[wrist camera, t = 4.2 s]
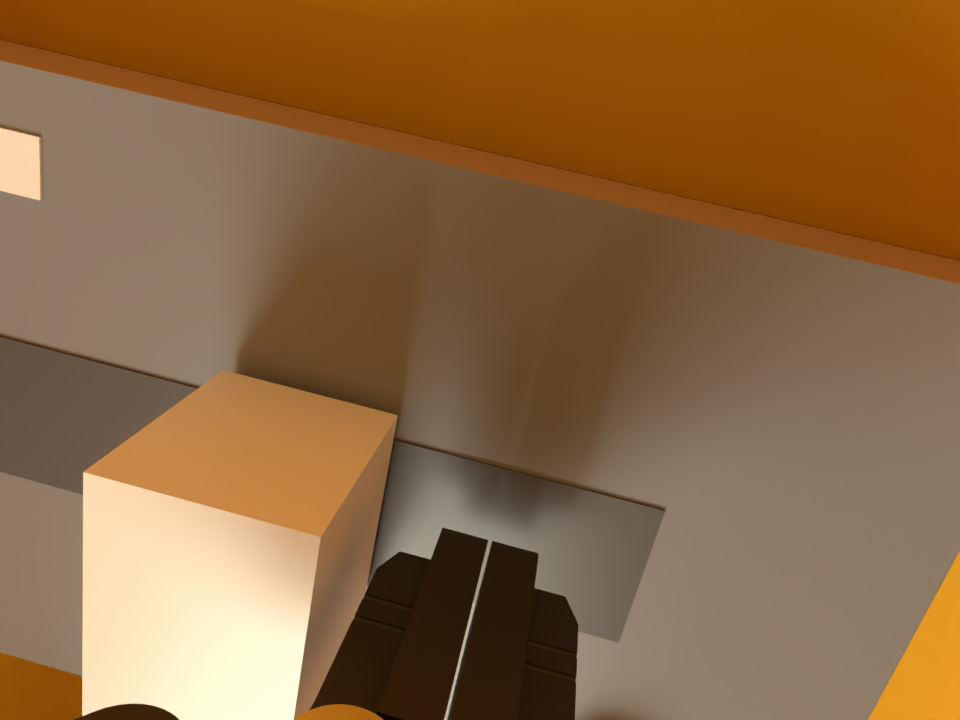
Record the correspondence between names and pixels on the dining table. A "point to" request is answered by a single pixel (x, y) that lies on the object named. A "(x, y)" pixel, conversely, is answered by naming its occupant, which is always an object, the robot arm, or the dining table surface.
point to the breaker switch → (230, 550)
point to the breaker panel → (491, 378)
